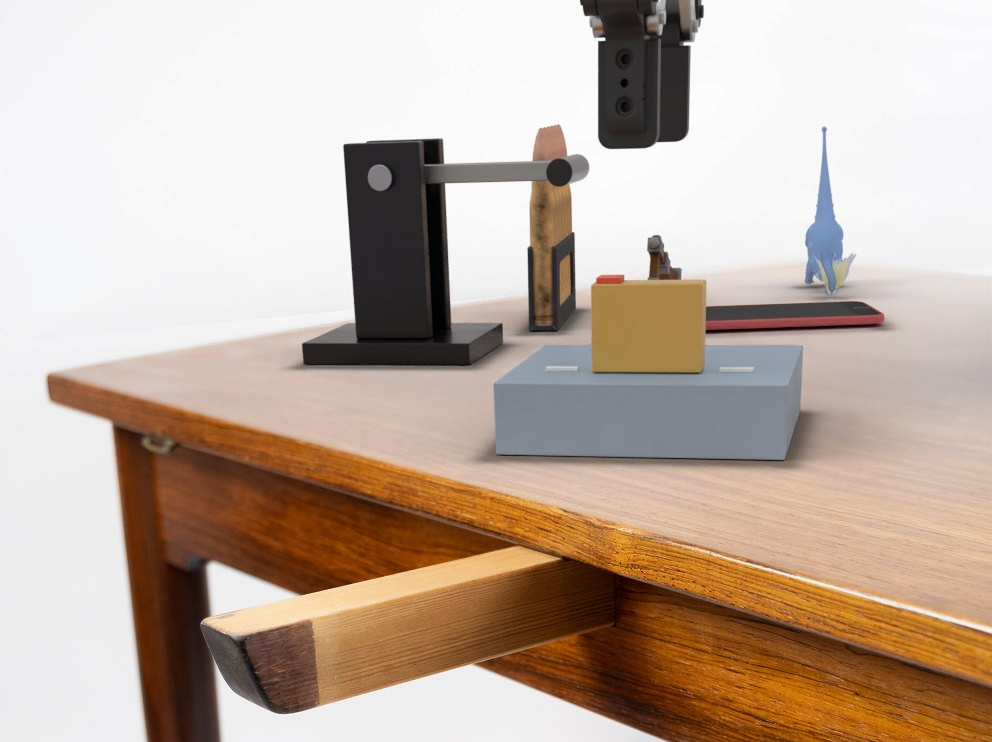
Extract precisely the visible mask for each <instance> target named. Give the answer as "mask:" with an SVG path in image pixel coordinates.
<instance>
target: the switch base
mask: <svg viewBox="0 0 992 742" xmlns="http://www.w3.org/2000/svg"><path fill="white" fill-rule="evenodd" d="M803 356H804V345H803V344H705V367H704V368H703V370H702V371H701V372H700V373H630V372H592V344H544V345H543V346H542V347H540V348H539V349H537V350H536V351H535V352H534V353H533V354H531V355H530V356H528V357H527V358H526V359H524V360H523V361H522V362H520V363H519V364H518V365H516V366H515V367H513V368H512V369H511V370H509V371H508V372H507V373H505V374H504V375H502V377H500V378H499V379H497V380H496V381H495V382H494V383H493V404H494V409H493V410H494V436H495V454H496V455H502V456H505V455H506V456H508V455H509V456H550V457H551V456H555V457H601V458H602V457H603V458H604V457H605V458H607V457H608V458H609V457H611V458H651V459H652V458H654V459H655V458H658V459H706V460H707V459H709V460H756V461H757V460H761V461H762V460H763V461H785V460H786V457H787V454H788V451H789V448H790V445H791V442H792V439H793V435H794V433H795V429H796V426H797V423H798V420H799V416H800V414H801V407H802V405H801V404H802V385H803V383H802V382H803V362H804V361H803V360H804V357H803Z"/></svg>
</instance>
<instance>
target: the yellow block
mask: <svg viewBox="0 0 992 742" xmlns="http://www.w3.org/2000/svg"><path fill="white" fill-rule="evenodd" d="M590 302H591V303H590V311H591V312H590V316H591V317H590V318H591V320H590V321H591V322H590V324H591V325H590V327H591V329H590V330H591V333H590V334H591V345H592V372H630V373H700V372H701V371H702V370H703V368H704V367H705V345H706V330H705V328H706V306H707V279H704V278H703V279H681V280H647V279H625V274H600V275H598V276H597V277H596V278H595V281H594V282H593V283H592V284H591V285H590Z"/></svg>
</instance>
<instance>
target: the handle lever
mask: <svg viewBox="0 0 992 742" xmlns="http://www.w3.org/2000/svg"><path fill="white" fill-rule="evenodd" d="M424 167H425V184H440V183H445V184H473V183H474V184H475V183H477V184H478V183H511V182H532V181H549V182H550V183H551V184H552V185H554V186H557V187H561V186H565V185H568V184H570V185H571V184H575V183H577V182H580V181H583V180H584V179H586V178H587V176H588V174H589V172H590V163H589V161H588V159H587V158H586V156H584V155H582V154H579V153H575V154H570V155H567V156H566V157H562V158H557V159H554V160H552V161H532V160H527V161H523V160H522V161H494V162H493V161H491V162H490V161H489V162H457V163H455V162H454V163H444V164H424Z"/></svg>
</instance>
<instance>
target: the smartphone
mask: <svg viewBox="0 0 992 742" xmlns="http://www.w3.org/2000/svg"><path fill="white" fill-rule="evenodd" d="M884 321H885V314H884V312H882V311H880V310H878V309H877V308H875V307H874V306H872V305H870V304H869V303H866V302H865V301H859V300H846V301H845V300H844V301H841V300H840V301H819V302H818V301H815V302H814V301H813V302H787V303H765V304H764V303H761V304H757V303H756V304H732V305H706V328H705V331H714V330H716V331H717V330H718V331H719V330H741V329H743V330H745V329H746V330H747V329H772V328H774V329H775V328H800V327H803V328H804V327H826V326H829V327H830V326H854V325H855V326H857V325H875V324H876V325H877V324H882V323H884Z"/></svg>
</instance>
